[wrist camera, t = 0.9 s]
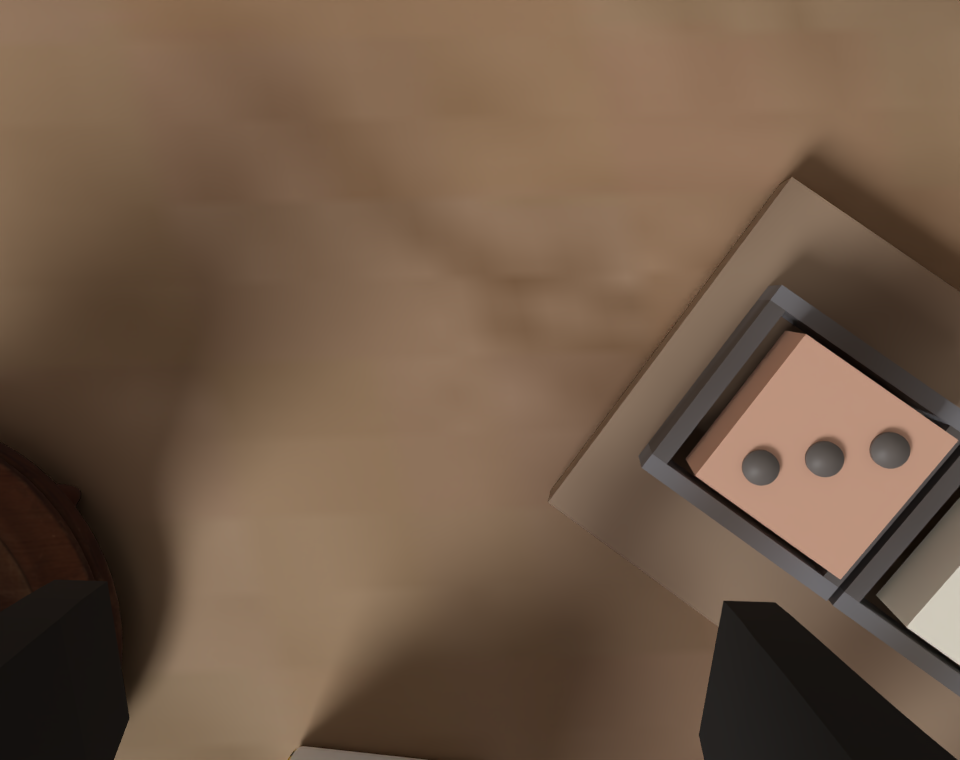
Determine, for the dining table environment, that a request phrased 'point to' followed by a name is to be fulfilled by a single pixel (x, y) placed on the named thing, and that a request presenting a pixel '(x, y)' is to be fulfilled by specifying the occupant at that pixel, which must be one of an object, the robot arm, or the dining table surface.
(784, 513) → the tile three
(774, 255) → the panel
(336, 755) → the medicine bottle
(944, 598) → the tile two
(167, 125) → the dining table surface
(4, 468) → the dark brown tall piece
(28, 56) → the dining table surface
